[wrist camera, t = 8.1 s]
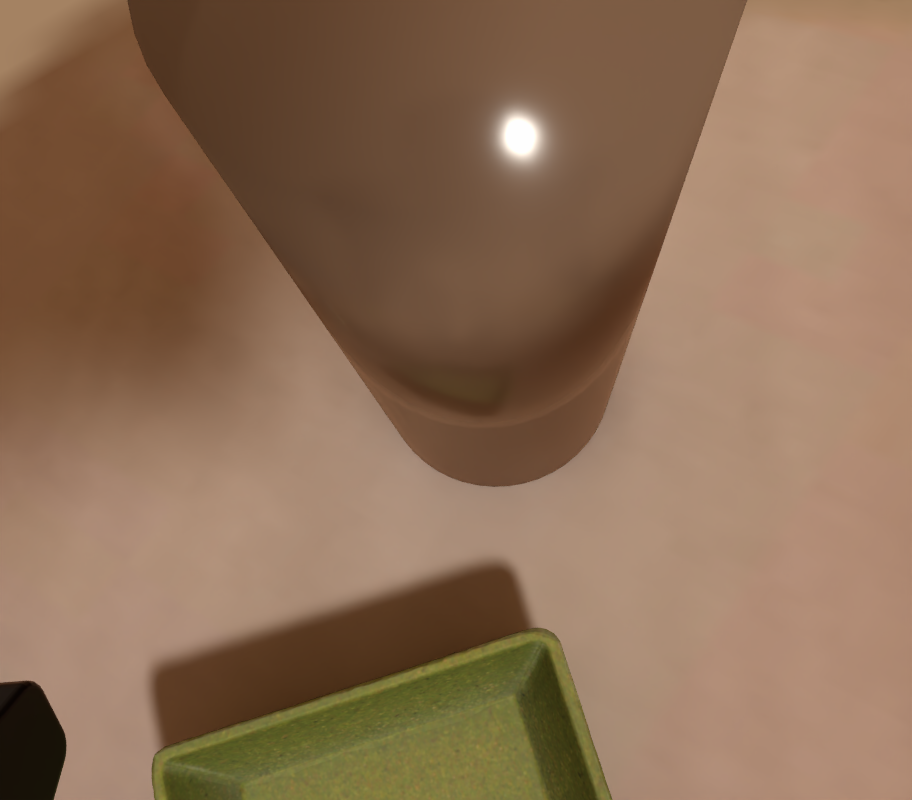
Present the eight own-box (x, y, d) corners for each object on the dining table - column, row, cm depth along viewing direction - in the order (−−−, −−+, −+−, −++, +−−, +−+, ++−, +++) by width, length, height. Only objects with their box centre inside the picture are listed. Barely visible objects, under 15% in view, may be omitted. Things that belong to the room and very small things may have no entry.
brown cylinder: (557, 524, 18) (612, 310, 6) (346, 431, 19) (9, 79, 7) (645, 317, 19) (850, -233, 7) (442, 241, 20) (302, -359, 8)
